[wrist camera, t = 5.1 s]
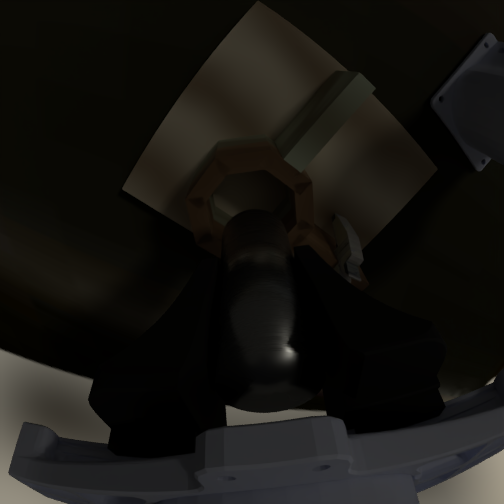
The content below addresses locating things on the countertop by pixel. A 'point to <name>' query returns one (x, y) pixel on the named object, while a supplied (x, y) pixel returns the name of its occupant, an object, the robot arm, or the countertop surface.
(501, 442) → the robot arm
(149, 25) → the countertop surface
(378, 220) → the hinge base
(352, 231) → the caliper
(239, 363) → the steel pin
